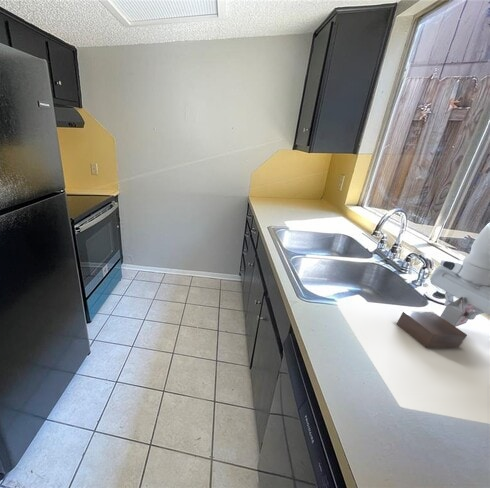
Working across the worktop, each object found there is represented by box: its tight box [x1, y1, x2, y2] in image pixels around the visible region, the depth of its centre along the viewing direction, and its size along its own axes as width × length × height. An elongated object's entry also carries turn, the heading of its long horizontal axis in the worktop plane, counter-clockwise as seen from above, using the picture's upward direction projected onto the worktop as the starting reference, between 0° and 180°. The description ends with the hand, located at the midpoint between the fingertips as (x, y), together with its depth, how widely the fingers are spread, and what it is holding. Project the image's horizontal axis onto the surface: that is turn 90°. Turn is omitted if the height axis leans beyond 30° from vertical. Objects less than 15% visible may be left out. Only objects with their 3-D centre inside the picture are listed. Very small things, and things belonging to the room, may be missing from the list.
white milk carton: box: [439, 296, 474, 328], centre depth 80 cm, size 4×7×10 cm, turn 109°
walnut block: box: [396, 311, 468, 349], centre depth 78 cm, size 10×10×5 cm
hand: (457, 311), depth 81 cm, fingers closed on white milk carton, 4 cm apart
